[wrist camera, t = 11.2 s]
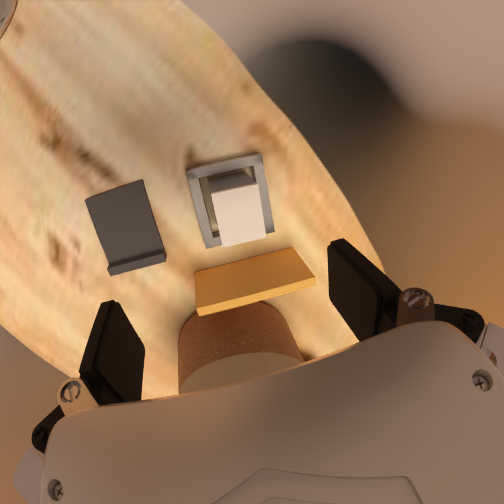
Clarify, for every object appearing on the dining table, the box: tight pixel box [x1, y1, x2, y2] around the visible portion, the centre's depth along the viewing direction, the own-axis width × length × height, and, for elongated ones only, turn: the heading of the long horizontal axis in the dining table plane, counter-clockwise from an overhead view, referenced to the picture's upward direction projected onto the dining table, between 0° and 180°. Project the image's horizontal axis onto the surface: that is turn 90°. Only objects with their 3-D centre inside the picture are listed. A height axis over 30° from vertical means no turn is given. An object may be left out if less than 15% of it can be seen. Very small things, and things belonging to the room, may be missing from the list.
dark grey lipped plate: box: [85, 180, 167, 276], centre depth 27 cm, size 9×7×2 cm
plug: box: [208, 172, 266, 248], centre depth 26 cm, size 5×4×6 cm
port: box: [186, 153, 316, 316], centre depth 26 cm, size 13×12×7 cm
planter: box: [178, 302, 305, 394], centre depth 32 cm, size 16×16×14 cm
